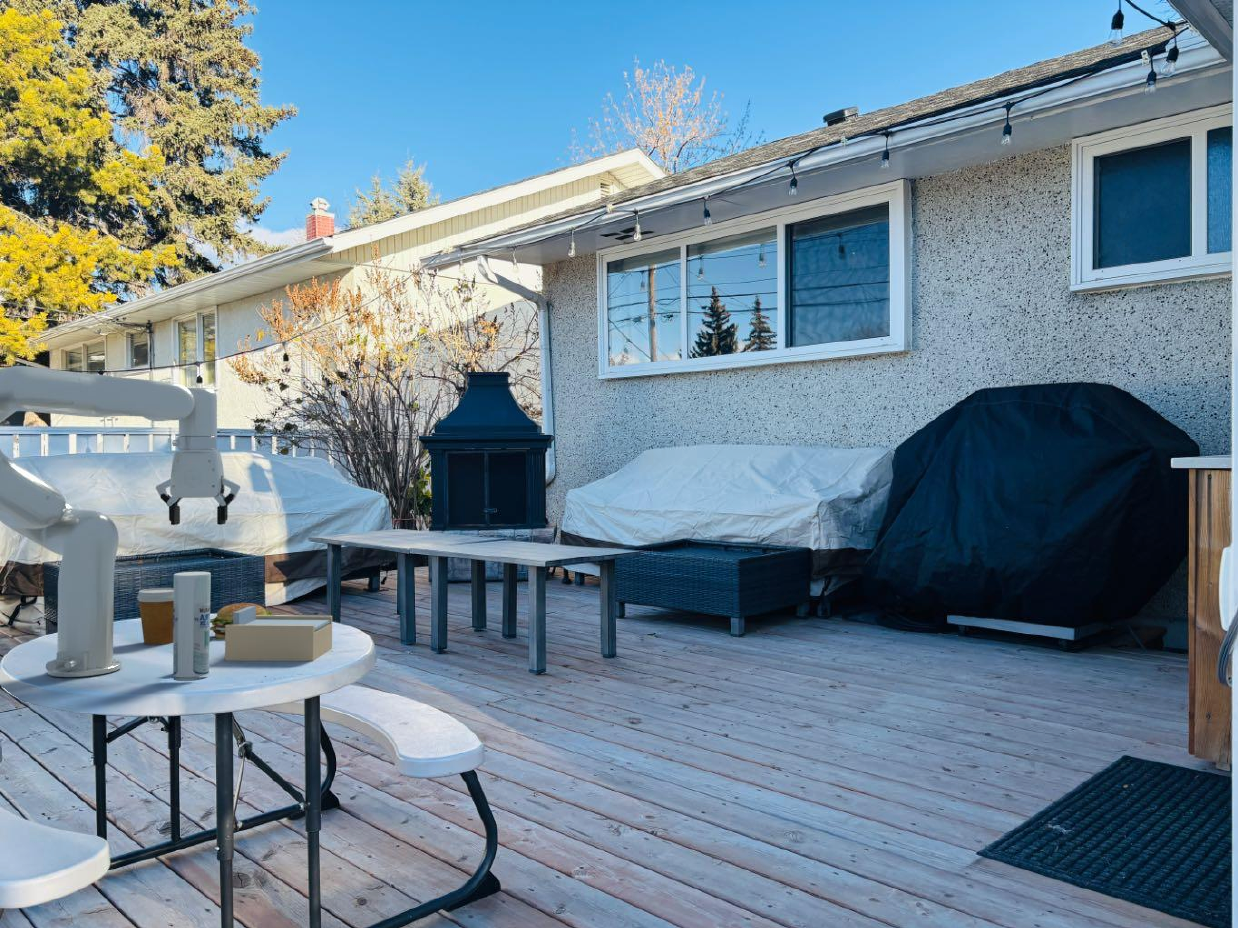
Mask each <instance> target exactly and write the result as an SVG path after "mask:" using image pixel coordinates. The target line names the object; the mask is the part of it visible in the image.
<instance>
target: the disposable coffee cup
mask: <svg viewBox="0 0 1238 928" xmlns="http://www.w3.org/2000/svg"><path fill="white" fill-rule="evenodd" d="M136 599H137V601H138V606H139V612H140V613H139V614H140V621H141V628H142V629H141V630H142V636H143V644H144V645H149V646H159V645H167V644H173V619H174V587H155V588H153V587H152V588H146V589H139V591H138V594H137V596H136Z"/></svg>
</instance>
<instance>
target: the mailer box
mask: <svg viewBox="0 0 1238 928" xmlns="http://www.w3.org/2000/svg"><path fill="white" fill-rule="evenodd" d="M256 619H279V620H330V623H328V624H326V625H324V626H323V627H321V628H319V629H317V630H315V625H225V639H224V642H225V643H224V661H225V662H227V661H228V662H229V661H230V662H231V661H233V662H234V661H236V662H238V661H239V662H240V661H241V662H242V661H244V662H253V661H254V662H314V661H316V660H317V659H319V658H320V657H321V656H323V655H324V654H326V653H327V652H329V651H331V650H333V615H287V614H286V615H284V614H283V615H280V614H279V615H275V614H274V615H256Z"/></svg>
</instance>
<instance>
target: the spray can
mask: <svg viewBox="0 0 1238 928" xmlns="http://www.w3.org/2000/svg"><path fill="white" fill-rule="evenodd" d="M211 574H212V573H211V572H209V571H184V572H178V573H176V572H175V573H174V574H173V588H174V619H173V642H172V644H173V650H172V651H173V653H172V655H173V656H172V657H173V662H172V664H173V665H172V667H173V668H172V670H173V671H172V672H173V673H172V675H173V681H176V682H192V681H193V682H194V681H200V680H201V681H202V680H204V679H207V678H208V676H205V675H208V674H209V673H210V636H211V635H210V633H211V632H210V631H211V630H210V627H211V623H210V621H211V620H210V619H211V587H212V586H211V583H212V582H211V580H212V578H211V577H212V575H211Z"/></svg>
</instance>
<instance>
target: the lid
mask: <svg viewBox="0 0 1238 928" xmlns="http://www.w3.org/2000/svg"><path fill="white" fill-rule="evenodd" d="M328 623H330V620H279V619H256V606H249V607H247V608H244V609H241V610H239V611H236V612H234V613H233V625H315V630H317V629H319V628H321V627H323V626H324V625H326V624H328Z"/></svg>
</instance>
